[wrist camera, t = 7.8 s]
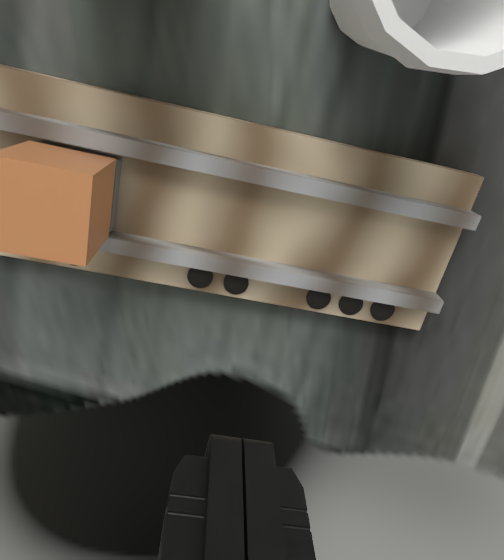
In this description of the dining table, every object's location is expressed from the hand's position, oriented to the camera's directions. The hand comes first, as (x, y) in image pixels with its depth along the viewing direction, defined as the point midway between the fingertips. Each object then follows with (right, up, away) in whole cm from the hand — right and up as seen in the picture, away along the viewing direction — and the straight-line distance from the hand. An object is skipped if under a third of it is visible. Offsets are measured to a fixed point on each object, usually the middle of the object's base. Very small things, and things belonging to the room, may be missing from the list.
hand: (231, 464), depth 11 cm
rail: (-1, +9, +21) cm, 23 cm away
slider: (-11, +11, +18) cm, 24 cm away
